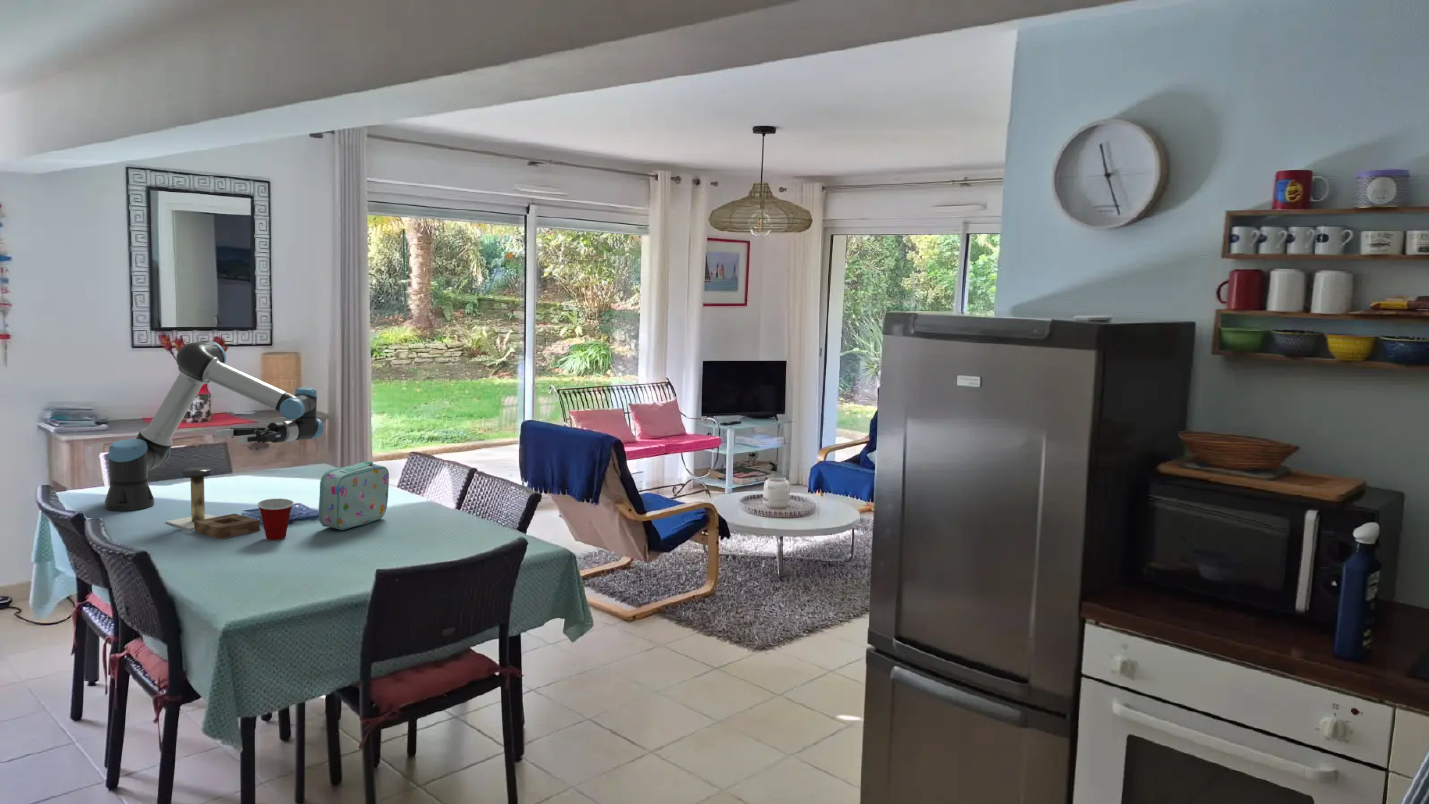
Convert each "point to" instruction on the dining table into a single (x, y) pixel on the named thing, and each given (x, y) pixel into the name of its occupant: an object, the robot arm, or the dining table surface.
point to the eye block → (226, 526)
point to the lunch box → (353, 495)
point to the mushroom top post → (197, 490)
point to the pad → (186, 522)
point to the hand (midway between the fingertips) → (226, 437)
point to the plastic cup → (275, 517)
